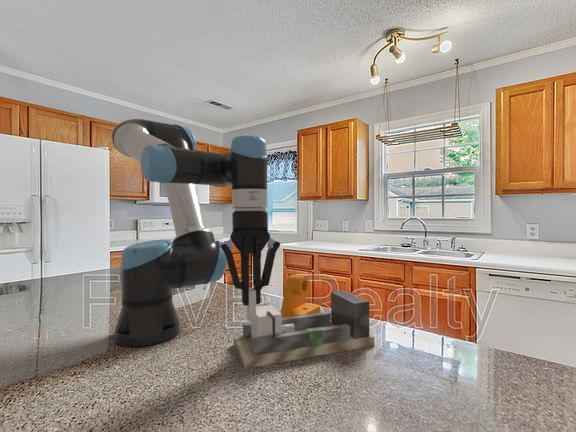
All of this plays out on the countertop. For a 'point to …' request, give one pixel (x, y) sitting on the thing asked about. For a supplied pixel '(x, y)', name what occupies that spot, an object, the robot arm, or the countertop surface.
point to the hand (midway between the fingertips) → (251, 319)
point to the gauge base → (311, 334)
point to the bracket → (297, 298)
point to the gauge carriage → (269, 322)
